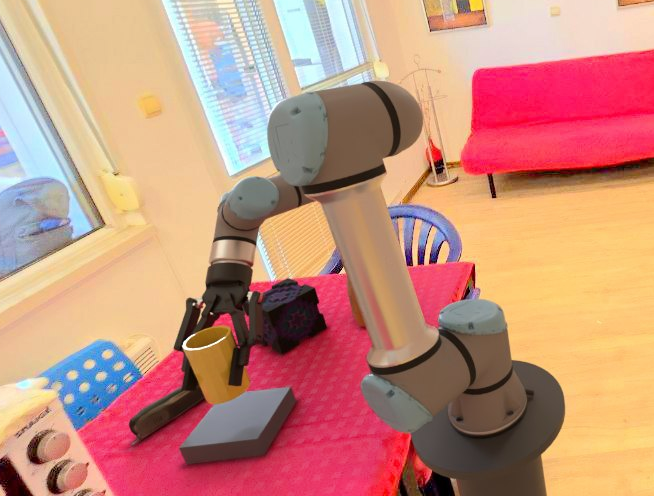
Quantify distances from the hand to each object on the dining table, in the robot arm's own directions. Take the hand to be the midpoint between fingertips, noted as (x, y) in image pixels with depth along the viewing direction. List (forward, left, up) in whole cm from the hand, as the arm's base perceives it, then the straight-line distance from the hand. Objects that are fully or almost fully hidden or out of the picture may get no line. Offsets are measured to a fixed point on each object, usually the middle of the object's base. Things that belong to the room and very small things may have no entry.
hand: (211, 387), depth 94 cm
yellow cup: (0, -3, -4) cm, 5 cm away
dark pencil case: (+18, -10, -14) cm, 25 cm away
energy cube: (+5, -36, -14) cm, 39 cm away
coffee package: (-14, -42, -14) cm, 47 cm away
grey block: (0, -3, -14) cm, 14 cm away
